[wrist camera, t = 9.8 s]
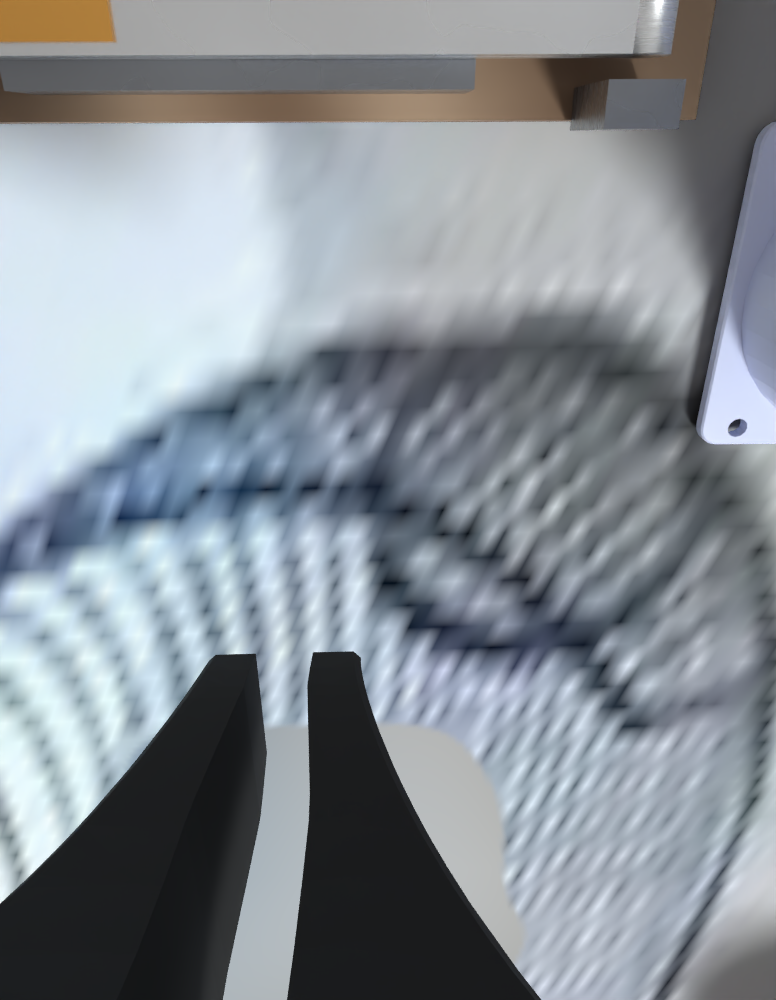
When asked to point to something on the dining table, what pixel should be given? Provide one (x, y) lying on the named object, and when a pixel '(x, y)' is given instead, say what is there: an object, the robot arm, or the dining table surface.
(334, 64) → the hardware
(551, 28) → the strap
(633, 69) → the board
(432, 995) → the robot arm
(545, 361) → the dining table surface
